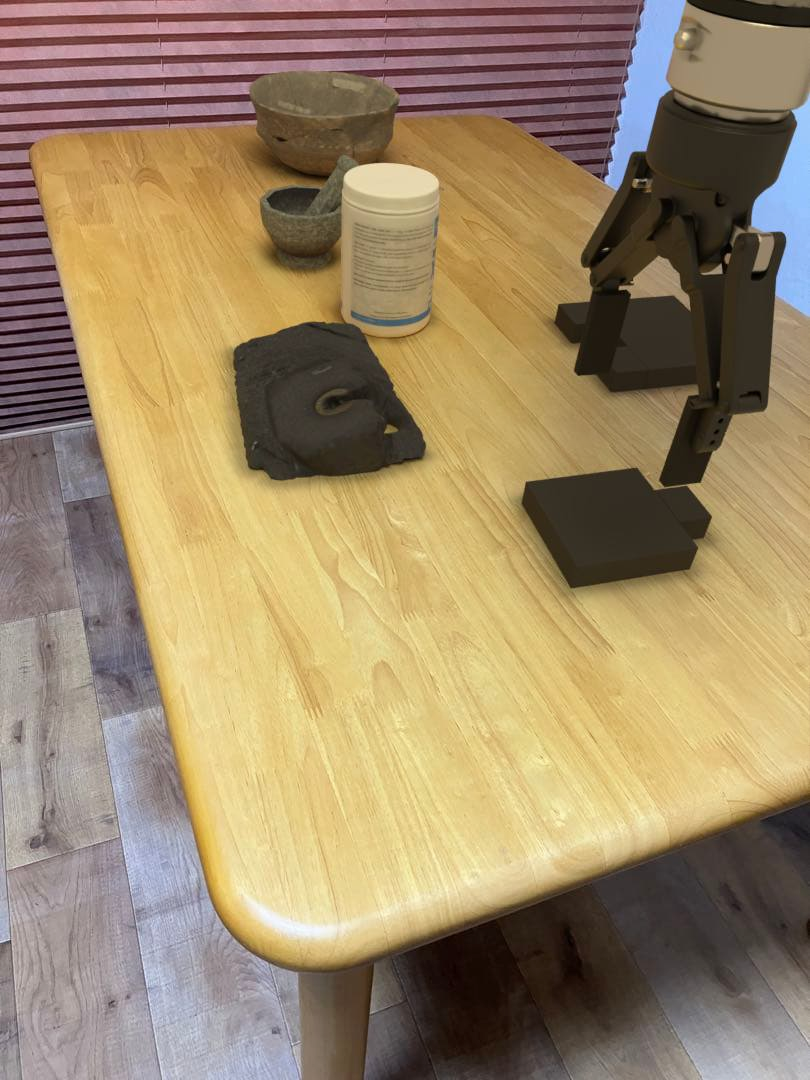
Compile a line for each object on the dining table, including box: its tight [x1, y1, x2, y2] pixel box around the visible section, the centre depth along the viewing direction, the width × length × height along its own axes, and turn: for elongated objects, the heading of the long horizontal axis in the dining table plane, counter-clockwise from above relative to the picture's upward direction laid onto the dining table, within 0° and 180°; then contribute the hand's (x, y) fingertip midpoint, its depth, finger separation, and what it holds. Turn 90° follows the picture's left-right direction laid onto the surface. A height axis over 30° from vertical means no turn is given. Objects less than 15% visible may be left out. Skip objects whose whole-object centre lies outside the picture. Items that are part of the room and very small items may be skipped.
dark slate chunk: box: [232, 321, 427, 482], centre depth 78 cm, size 15×22×5 cm
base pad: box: [554, 294, 720, 393], centre depth 91 cm, size 14×14×2 cm
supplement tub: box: [340, 162, 441, 339], centre depth 88 cm, size 10×10×15 cm
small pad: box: [521, 467, 713, 589], centre depth 69 cm, size 13×10×2 cm
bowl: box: [248, 69, 401, 177], centre depth 122 cm, size 21×21×10 cm
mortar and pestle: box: [259, 155, 360, 270], centre depth 98 cm, size 11×9×12 cm
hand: (632, 423), depth 62 cm, fingers open, 13 cm apart
